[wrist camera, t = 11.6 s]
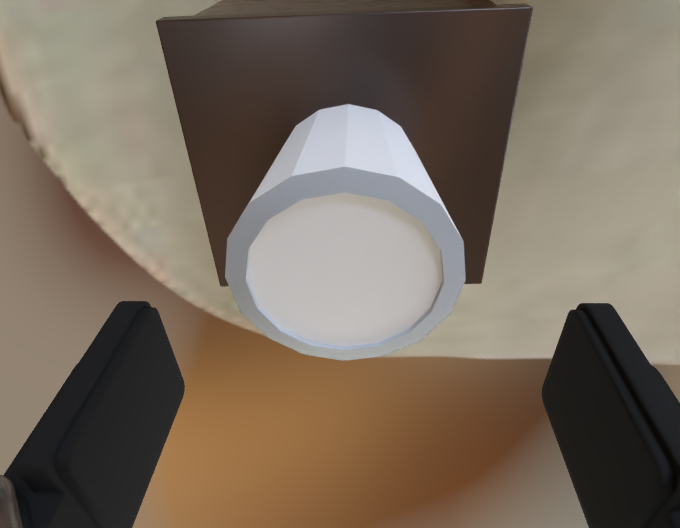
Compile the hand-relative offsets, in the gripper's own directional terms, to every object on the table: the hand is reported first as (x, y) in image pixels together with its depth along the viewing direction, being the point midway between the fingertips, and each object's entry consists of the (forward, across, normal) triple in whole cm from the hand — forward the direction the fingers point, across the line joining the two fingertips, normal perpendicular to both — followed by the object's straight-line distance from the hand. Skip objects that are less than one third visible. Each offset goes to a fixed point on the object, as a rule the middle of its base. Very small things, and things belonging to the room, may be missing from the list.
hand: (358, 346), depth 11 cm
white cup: (+10, +1, 0) cm, 10 cm away
